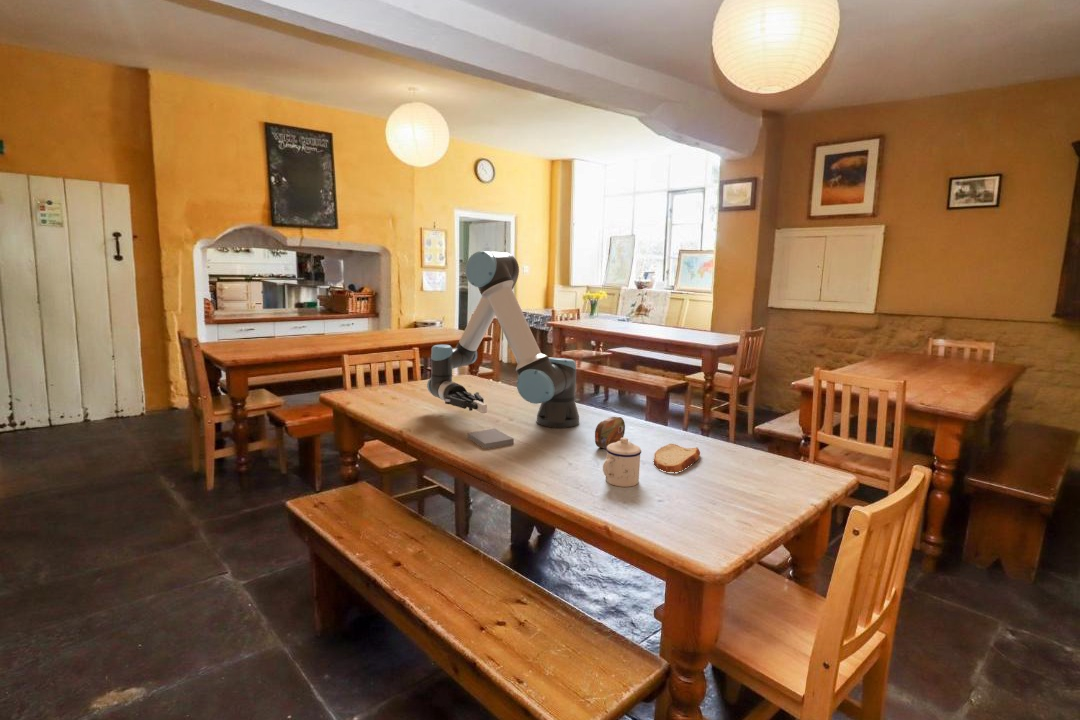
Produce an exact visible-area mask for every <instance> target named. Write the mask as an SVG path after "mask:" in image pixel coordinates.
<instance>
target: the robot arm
mask: <svg viewBox="0 0 1080 720" xmlns="http://www.w3.org/2000/svg"><path fill="white" fill-rule="evenodd" d="M464 271H465V277H466V279H467V281H468V282H469V284H470V285H472V286H473V287H476V288H477V289H478V290H479V293H480V295H481V298H480V300H479V302H478V303H477V306H476V307H475V309H474V311H473V314H472V315H471V317H470V319H469V321H468V322H467V325H466V327H465V329H464V331H463V332H462V335H461V336H460V339H459V341H458V342H457V344H456V346H455V347H452V346H451V345H449V344H435V345H433V346H432V347H431V353H430V364H431V365H430V366H431V367H430V368H431V369H430V371H431V373H430V378H429V380H428V381H427V385H426V387H427V391H428V392H429V393H430V394H431V395H432V396H433V397H435V398H438V399H440V400H442V401H444V404H446V405H451V406H454V407H457V408H461V409H467V408H468V411H470V412H472V411H473V410H475V411H477V412H479V413H481V414H487V413H488V412H487V411H488V408H487V407H488V406H487V404H486V403H485V402H484V397H482V396H481V394H480V392H475V393H473V394H472V393H471V392H468V391H467V389H466V388H465V386H463V385H462V384H459V383H457V382H454V381H453V370H454V369H457V368H462V367H466V366H470V365H471V364H474V363H475V362H476V361H477V359H478V351H477V350H478V348H479V346H480V345H481V342H482V340H483V338H484V337H485V335H486V333H487V332H488V329H489V328H490V326H491V325H492V322H493V321H494V318H495V317H496V319H497V321H498V324H499V326H500V329H501V330H502V332H503V334H504V337H505V339H506V341H507V344H508V345H509V348H510V349H511V351H512V354H513V357H514V358H515V362H516V363H517V364H516V368H515V372H516V374H517V376H518V377H517V382H516V390H517V392H518V394H519V395H520V397H521V398H522V399H523V400H524V401H526V402H528V403H530V404H534V405H535V404H537V405H539V404H540V405H539V408H538V411H537V414H536V422H537V424H539V425H541V426H542V427H543V426H544V427H547V428H555V429H556V428H557V429H558V428H560V429H565V428H572V427H576V426H578V425H579V423H580V414H579V411H578V407H577V403H576V387H577V386H576V385H577V384H576V382H577V370H578V369H577V362H576V360H574V359H571V358H562V357H551V356H550V357H549V356H548V355H547V354H544V353H542V352H541V349H540V347H539V345H538V343H537V341H536V338H535V337H534V334H533V333H532V330H531V327H530V325H529V324H528V321H527V319H526V317H525V314H524V313H523V310H522V308H521V305H520V304H519V302H518V299H517V297H516V295H515V293H514V288H515V286H516V284H517V281H518V278H519V276H520V266H519V262H518V261H517V258H515V256H514V255H512V254H511V253H509V252H507V251H502V250H500V251H495V250H493V251H492V250H491V251H490V250H481V251H475V252H474V253H473V254H471V255H470V256H469V258H468V259H467V262H466V265H465V270H464Z"/></svg>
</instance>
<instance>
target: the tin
mask: <svg viewBox="0 0 1080 720" xmlns="http://www.w3.org/2000/svg"><path fill="white" fill-rule="evenodd" d="M625 432H626V424H625V420H624V418H623V417H620V416H612V417H609V418H607V419H604V420H602V421H600V422H599V423H598V424H597V426H596V427H595V430H594V442H595V445H596V447H598V448H600V449H605V450H606V448H607V446H608V445H609V444H611V443H615V442H618V441H620V439H621V438H624V435H625Z"/></svg>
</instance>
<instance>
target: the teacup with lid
mask: <svg viewBox="0 0 1080 720" xmlns="http://www.w3.org/2000/svg"><path fill="white" fill-rule="evenodd" d="M605 451H606V460H604V462H603V463H602V464H603V466H602V472H603V474H604V476H605V481H606V482H607V483H608V484H610V485H612V486H616V487H623V488H628V487H634V486H636V485H638V484H639V483H640V482H639V481H640V466H641V465H640V464H641V455H642V449H641V447H640V446H639V445H637V444H635V443H632V442H631V441H629V439H628V437H623V438H621V439H620V441H618V442H615V443H611V444H609V445H608V446H607V448H606V449H605Z"/></svg>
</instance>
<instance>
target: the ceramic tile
mask: <svg viewBox="0 0 1080 720" xmlns="http://www.w3.org/2000/svg"><path fill="white" fill-rule="evenodd" d="M466 434H467V439H468V440H469V439H470V440H469V441H471V440H472V441H473V442H472V441H471V442H472V443H474V442H475V443H474V444H476V445H477V444H478V446H479V447H480V446H481V448H482V447H483V448H482V449H484V450H489V449H488V448H490V449H494V447H495V448H501V447H505V446H511V444H512V445H514V444H515V443H514V440H515V439H514V438H513V437H511V436H509V435H508V434H506V433H504V432H502V431H500V430H498V429H497V428H491V429H483V430H477V431H471V432H470V431H469V432H467V433H466ZM500 446H501V447H500Z"/></svg>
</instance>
